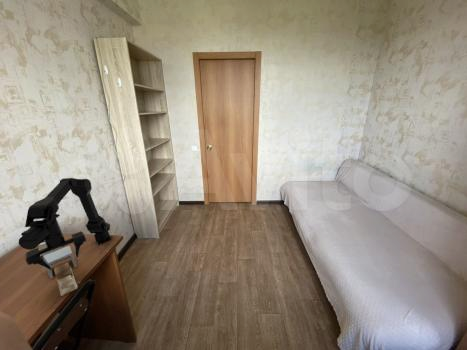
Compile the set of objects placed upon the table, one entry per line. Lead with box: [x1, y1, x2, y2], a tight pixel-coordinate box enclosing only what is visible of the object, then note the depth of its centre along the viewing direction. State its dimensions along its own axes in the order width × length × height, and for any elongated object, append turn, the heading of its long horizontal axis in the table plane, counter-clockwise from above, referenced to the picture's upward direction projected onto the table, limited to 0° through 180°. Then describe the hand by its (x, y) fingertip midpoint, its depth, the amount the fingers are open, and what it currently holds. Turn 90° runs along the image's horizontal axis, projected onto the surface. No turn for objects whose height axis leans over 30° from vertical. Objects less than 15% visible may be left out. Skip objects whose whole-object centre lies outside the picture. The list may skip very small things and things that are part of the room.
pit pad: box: [50, 256, 71, 266], centre depth 103 cm, size 10×3×1 cm, turn 136°
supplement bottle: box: [37, 242, 55, 256], centre depth 107 cm, size 5×5×10 cm
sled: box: [53, 262, 79, 297], centre depth 89 cm, size 6×18×6 cm, turn 46°
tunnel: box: [43, 245, 78, 279], centre depth 96 cm, size 10×8×8 cm
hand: (64, 262), depth 86 cm, fingers open, 9 cm apart
